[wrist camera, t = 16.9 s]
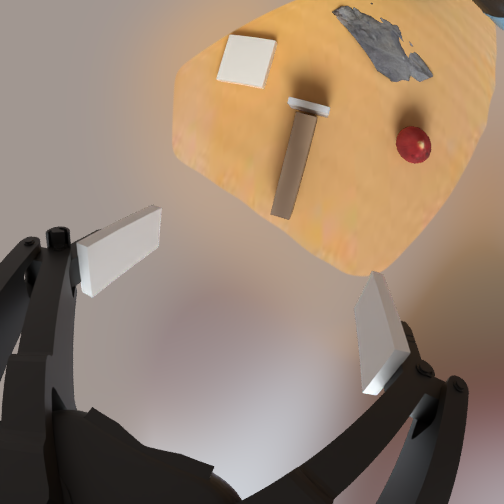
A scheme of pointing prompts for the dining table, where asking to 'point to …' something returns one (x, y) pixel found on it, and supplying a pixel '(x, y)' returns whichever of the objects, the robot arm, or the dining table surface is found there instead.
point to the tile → (247, 61)
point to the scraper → (296, 155)
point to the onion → (413, 144)
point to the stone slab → (383, 45)
